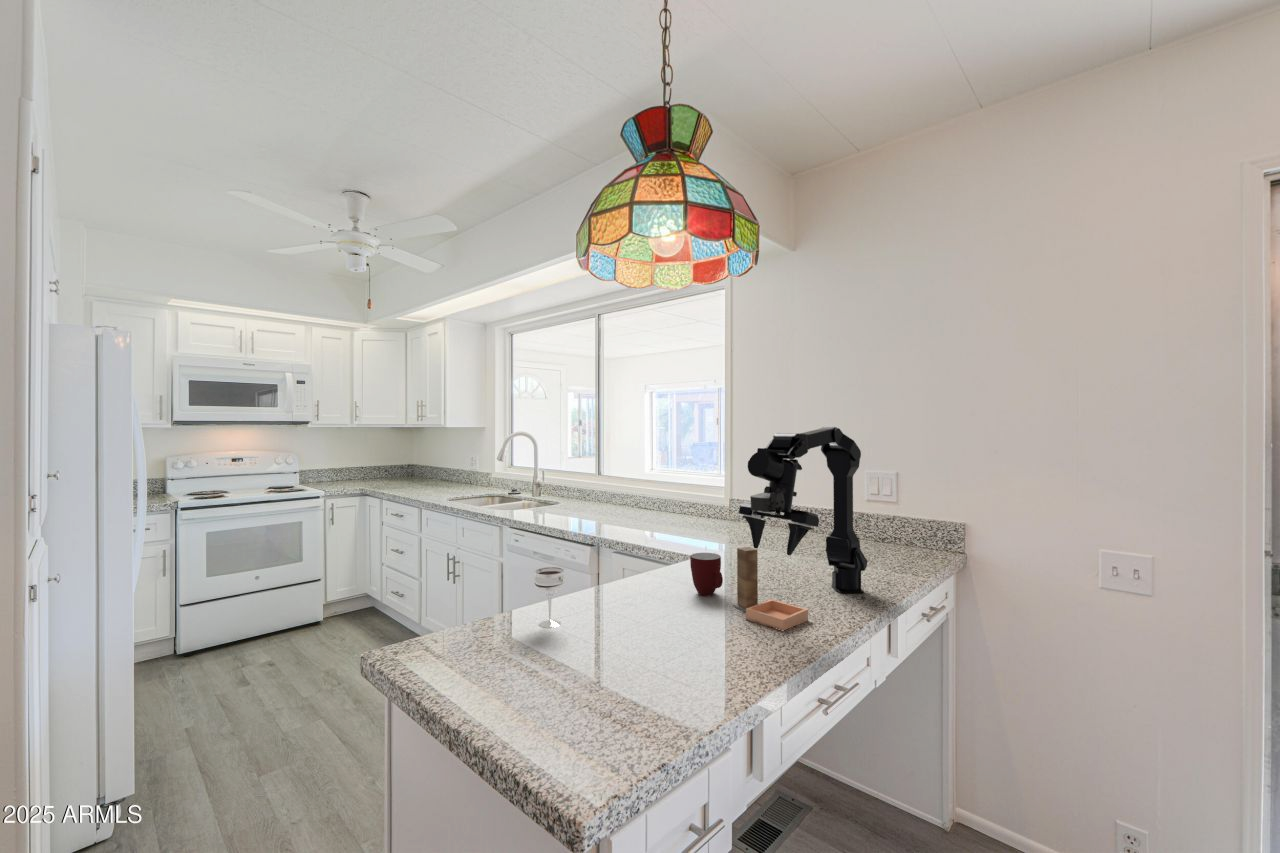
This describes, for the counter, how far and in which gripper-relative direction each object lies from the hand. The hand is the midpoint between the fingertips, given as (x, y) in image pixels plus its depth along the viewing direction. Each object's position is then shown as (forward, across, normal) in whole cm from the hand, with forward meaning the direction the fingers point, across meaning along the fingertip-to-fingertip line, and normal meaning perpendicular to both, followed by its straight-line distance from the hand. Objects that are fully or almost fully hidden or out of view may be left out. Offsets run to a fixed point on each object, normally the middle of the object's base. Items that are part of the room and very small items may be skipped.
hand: (771, 551), depth 126 cm
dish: (+15, +1, +4) cm, 16 cm away
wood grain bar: (+15, -9, +6) cm, 18 cm away
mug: (+15, -22, +6) cm, 27 cm away
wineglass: (+26, -31, -35) cm, 54 cm away
